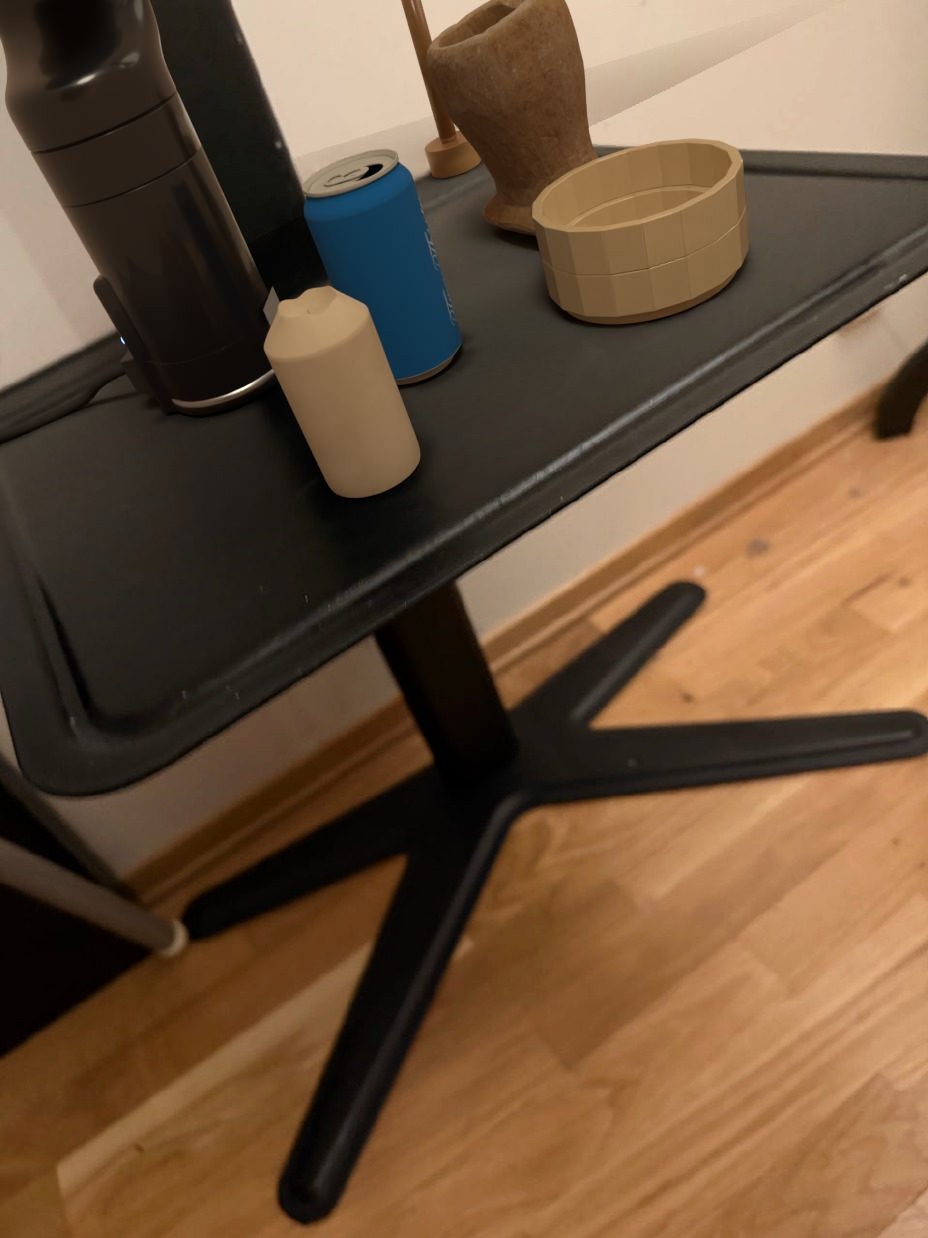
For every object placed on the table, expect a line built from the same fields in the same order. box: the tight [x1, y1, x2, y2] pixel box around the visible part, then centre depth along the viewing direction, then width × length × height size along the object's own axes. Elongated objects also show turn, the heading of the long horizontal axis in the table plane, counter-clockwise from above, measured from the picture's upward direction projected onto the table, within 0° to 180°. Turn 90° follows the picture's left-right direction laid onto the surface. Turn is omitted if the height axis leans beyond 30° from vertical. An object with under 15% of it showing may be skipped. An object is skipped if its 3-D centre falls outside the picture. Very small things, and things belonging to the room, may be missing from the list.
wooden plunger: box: [400, 0, 482, 179], centre depth 78 cm, size 5×5×17 cm
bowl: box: [532, 137, 750, 325], centre depth 55 cm, size 12×12×6 cm
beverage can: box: [301, 148, 463, 386], centre depth 53 cm, size 6×6×12 cm
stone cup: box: [427, 0, 600, 237], centre depth 62 cm, size 15×12×15 cm
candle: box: [264, 285, 421, 499], centre depth 46 cm, size 6×6×10 cm
